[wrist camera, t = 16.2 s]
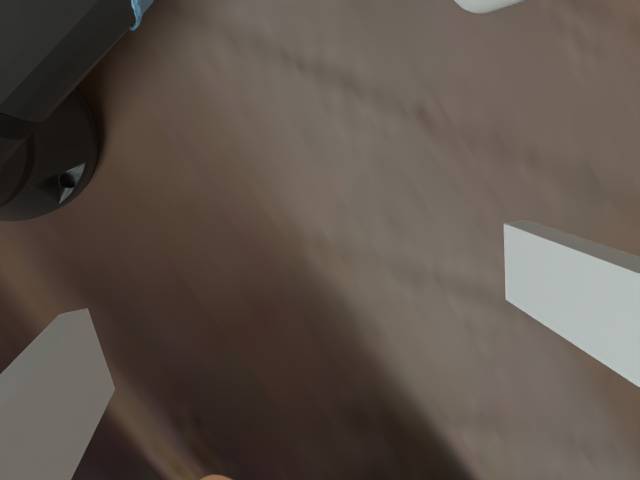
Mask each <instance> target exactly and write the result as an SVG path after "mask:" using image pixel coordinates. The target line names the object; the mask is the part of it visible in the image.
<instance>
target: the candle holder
mask: <svg viewBox="0 0 640 480" xmlns="http://www.w3.org/2000/svg"><path fill="white" fill-rule="evenodd" d="M454 1H455V2H456V3H457V4H458V5H459V6H460V7H461V8H463V9H464V10H466V11H469V12H472V13H477V14H483V13H489V12H493V11H496V10H499V9H503V8H505V7H508V6H511V5H514V4H517V3H520V2H523V1H526V0H454Z"/></svg>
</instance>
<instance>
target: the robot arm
mask: <svg viewBox="0 0 640 480" xmlns="http://www.w3.org/2000/svg"><path fill="white" fill-rule="evenodd" d="M153 2H154V0H0V221H19V220H27V219H32V218H36V217H39V216H42V215H45V214H47V213H50V212H52V211H54V210H57V209H59V208H61V207H63V206H64V205H66V204H68V203H69V202H70V201H72V200H73V199H74V198H75V197H76V196H78V195H79V194H80V192H81V191H82V190H83V189H84V188H85V186H86V185H87V183H88V182H89V180H90V178H91V176H92V174H93V172H94V169H95V166H96V162H97V157H98V134H97V128H96V124H95V121H94V118H93V115H92V113H91V110H90V108H89V106H88V104H87V102H86V101H85V99H84V97H83V96H82V94H81V93H80V92H79V90H78V89H77V88H76V86H77V85H78V84H79V83H80V82H81V81H82V80H83V79H84V78H85V77H86V76H87V75H88V73H89V72H90V71H91V70H92V69H93V68H94V67H95V66H96V65H97V64H98V63H99V61H100V60H101V59H102V58H103V57H104V56H105V55H106V54H107V53H108V52H109V51H110V50H111V48H112V47H113V46H114V45H115V44H116V43H117V42H118V41H119V40H120V39H121V38H122V37H123V35H124V34H125V33H126V32H127V31H128V30H131V31H133V30H135V29H136V28H137V27H138V26H139V24H140V22H141V19H142V15H143V14H144V12H145V11H146V10H147V9H148V8H149V6H150V5H151V4H152V3H153ZM504 251H505V290H506V300H507V301H509V302H510V303H512V304H513V305H515V306H516V307H518V308H520V309H521V310H523V311H524V312H526V313H527V314H529V315H530V316H532V317H533V318H535V319H536V320H538V321H539V322H541V323H542V324H544V325H545V326H547V327H548V328H550V329H552V330H553V331H555V332H556V333H558V334H559V335H561V336H562V337H564V338H565V339H567V340H568V341H570V342H571V343H573V344H574V345H576V346H577V347H579V348H580V349H582V350H584V351H585V352H587V353H588V354H590V355H591V356H593V357H594V358H596V359H597V360H599V361H600V362H602V363H603V364H605V365H606V366H608V367H609V368H611V369H612V370H614V371H616V372H617V373H619V374H620V375H622V376H623V377H625V378H626V379H628V380H629V381H631V382H632V383H634V384H635V385H637V386H638V387H640V257H639V256H636V255H633V254H630V253H627V252H624V251H621V250H618V249H614V248H611V247H608V246H605V245H602V244H599V243H596V242H593V241H590V240H587V239H584V238H581V237H578V236H575V235H572V234H569V233H566V232H563V231H559V230H556V229H553V228H550V227H547V226H544V225H541V224H538V223H535V222H532V221H529V220H526V219H524V220H519V221H514V222H509V223H504ZM114 390H115V388H114V385H113V382H112V379H111V376H110V373H109V370H108V367H107V364H106V361H105V358H104V355H103V353H102V350H101V347H100V344H99V341H98V338H97V335H96V332H95V329H94V326H93V323H92V320H91V317H90V314H89V311H88V309H82V310H77V311H72V312H67V313H62V314H59V315H58V316H57V317H56V318H55V319H54V320H53V321H52V322H51V323H50V324H49V325H48V326H47V327H46V328H45V329H44V330H43V331H42V332H41V333H40V334H39V336H38V337H37V338H36V339H35V340H34V341H33V342H32V343H31V344H30V345H29V346H28V347H27V348H26V349H25V350H24V351H23V352H22V353H21V354H20V355H19V356H18V357H17V358H16V359H15V360H14V361H13V362H12V363H11V364H10V365H9V366H8V367H7V368H6V369H5V370H4V371H3V372H2V373H1V374H0V480H71V478H72V476H73V474H74V472H75V470H76V468H77V466H78V464H79V462H80V460H81V458H82V456H83V454H84V452H85V450H86V448H87V445H88V443H89V441H90V439H91V437H92V435H93V433H94V431H95V429H96V427H97V425H98V423H99V421H100V419H101V417H102V415H103V413H104V411H105V408H106V406H107V404H108V402H109V400H110V398H111V396H112V394H113V392H114Z"/></svg>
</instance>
